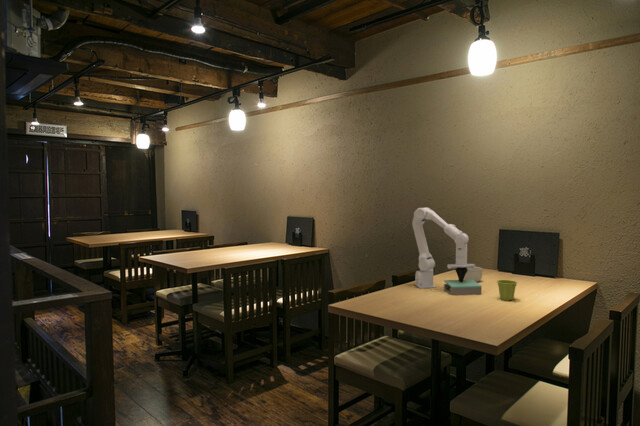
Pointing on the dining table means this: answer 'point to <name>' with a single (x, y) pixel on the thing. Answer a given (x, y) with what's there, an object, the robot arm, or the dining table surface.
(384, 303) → the dining table surface
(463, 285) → the lid
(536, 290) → the dining table surface
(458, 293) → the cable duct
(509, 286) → the plant pot
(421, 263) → the robot arm
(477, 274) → the teacup
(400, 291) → the dining table surface
